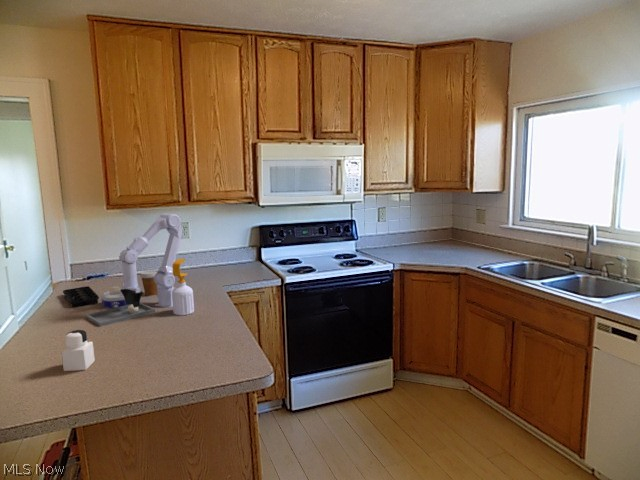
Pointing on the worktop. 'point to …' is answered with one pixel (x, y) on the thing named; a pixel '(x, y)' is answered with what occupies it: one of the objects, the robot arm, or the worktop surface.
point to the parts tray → (118, 314)
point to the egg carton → (81, 296)
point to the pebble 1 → (114, 290)
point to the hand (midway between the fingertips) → (132, 305)
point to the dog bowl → (113, 300)
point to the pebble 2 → (132, 309)
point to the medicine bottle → (77, 351)
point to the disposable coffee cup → (149, 282)
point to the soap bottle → (181, 293)
